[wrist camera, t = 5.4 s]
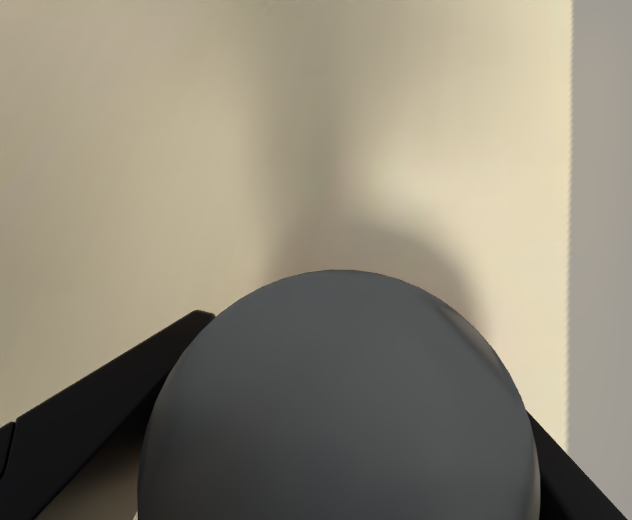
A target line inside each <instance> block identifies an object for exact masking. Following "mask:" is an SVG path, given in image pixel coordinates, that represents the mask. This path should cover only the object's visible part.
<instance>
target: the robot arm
mask: <svg viewBox="0 0 632 520" xmlns="http://www.w3.org/2000/svg"><path fill="white" fill-rule="evenodd" d="M215 318H216V316H215V315H214V314H213V313H209V312H205V311H201V310H195V311H193V312H191V313H189V314H188V315H186V316H184V317H183V318H181V319H179V320H178V321H176V322H174V323H173V324H171V325H170V326H168V327H166V328H165V329H163V330H161V331H160V332H158V333H156V334H155V335H153V336H151V337H150V338H148V339H146V340H145V341H143V342H142V343H140V344H138V345H137V346H135V347H133V348H132V349H130V350H128V351H127V352H125V353H123V354H122V355H120V356H118V357H117V358H115V359H114V360H112V361H110V362H109V363H107V364H105V365H104V366H102V367H100V368H99V369H97V370H95V371H94V372H92V373H90V374H89V375H87V376H86V377H84V378H82V379H81V380H79V381H77V382H76V383H74V384H72V385H71V386H69V387H67V388H66V389H64V390H62V391H61V392H59V393H58V394H56V395H54V396H53V397H51V398H49V399H48V400H46V401H44V402H43V403H41V404H39V405H38V406H36V407H34V408H33V409H31V410H30V411H28V412H26V413H25V414H23V415H21V416H20V417H18V418H17V419H16V422H9V423H8V424H6V425H4V426H3V427H1V428H0V520H133V518H134V516H135V514H136V512H137V510H138V504H137V483H138V472H139V462H140V455H141V450H142V446H143V441H144V436H145V432H146V428H147V425H148V422H149V419H150V416H151V413H152V410H153V408H154V405H155V402H156V400H157V397H158V395H159V393H160V391H161V389H162V387H163V385H164V383H165V381H166V379H167V377H168V375H169V374H170V372H171V370H172V369H173V367H174V366H175V364H176V363H177V361H178V360H179V358H180V356H181V355H182V353H183V352H184V351H185V350H186V348H187V347H188V346H189V345H190V344H191V342H192V341H193V340H194V339H195V338H196V336H197V335H198V334H199V333H200V332H201V331H202V330H203V329H204V328H205V327H206V326H207V325H208V324H209V323H210V322H211V321H212V320H213V319H215ZM526 412H527V415H528V417H529V420H530V424H531V428H532V432H533V436H534V440H535V444H536V448H537V456H538V464H539V472H540V514H539V520H627V519H626V518H625V516H623V514H622V513H621V512H620V511H619V510H618V509H617V508H616V507H615V506H614V505H613V503H612V502H611V501H610V500H609V499H608V498H607V497H606V496H605V495H604V494H603V493H602V491H601V490H600V489H599V488H598V487H597V486H596V485H595V484H594V483H593V482H592V481H591V480H590V479H589V477H587V475H585V473H584V472H583V471H582V470H581V469H580V468H579V467H578V466H577V464H575V462H574V461H573V460H572V459H571V458H570V457H569V456H568V455H567V454H566V453H565V451H564V450H563V449H562V448H561V447H560V446H559V445H558V444H557V443H556V442H555V441H554V440H553V438H552V437H551V436H550V435H549V434H548V433H547V432H546V431H545V430H544V429H543V428H542V427H541V426H540V424H539V423H538V422H537V421H536V420H535V419H534V418H533V417H532V416H531V415H530V414H529V413H528V411H527V410H526Z"/></svg>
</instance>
